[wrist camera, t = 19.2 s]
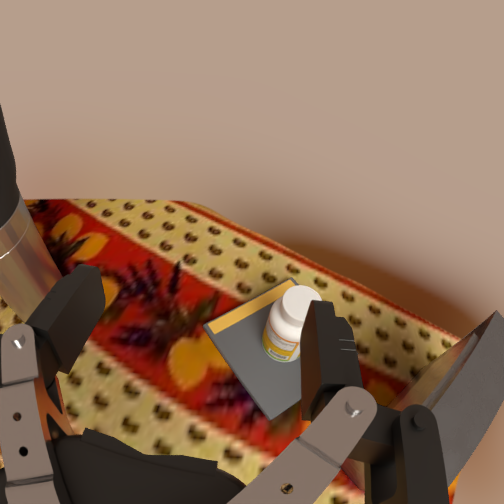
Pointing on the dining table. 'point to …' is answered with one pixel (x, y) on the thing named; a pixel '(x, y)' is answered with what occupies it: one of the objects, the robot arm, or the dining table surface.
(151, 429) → the dining table surface
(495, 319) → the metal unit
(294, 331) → the supplement bottle
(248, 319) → the mat
